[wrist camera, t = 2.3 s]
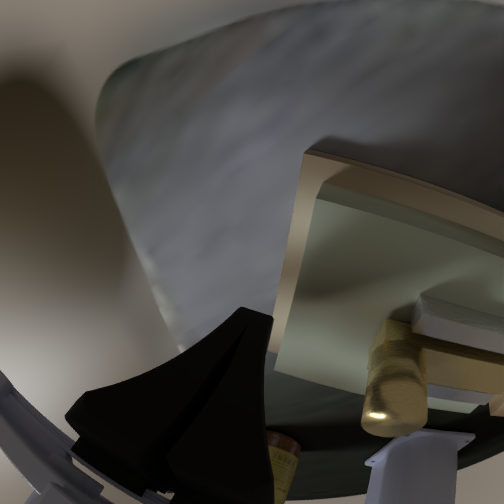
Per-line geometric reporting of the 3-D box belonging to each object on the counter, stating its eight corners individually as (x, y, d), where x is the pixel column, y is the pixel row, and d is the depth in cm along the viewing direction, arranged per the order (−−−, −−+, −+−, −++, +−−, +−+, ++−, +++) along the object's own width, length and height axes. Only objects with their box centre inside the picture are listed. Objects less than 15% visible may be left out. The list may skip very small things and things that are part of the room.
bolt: (495, 379, 11) (505, 447, 7) (363, 350, 13) (351, 430, 9) (521, 348, 9) (539, 419, 6) (383, 313, 11) (378, 399, 8)
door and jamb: (549, 397, 13) (555, 424, 10) (270, 338, 19) (254, 373, 17) (629, 287, 6) (646, 312, 4) (307, 148, 12) (292, 164, 10)
